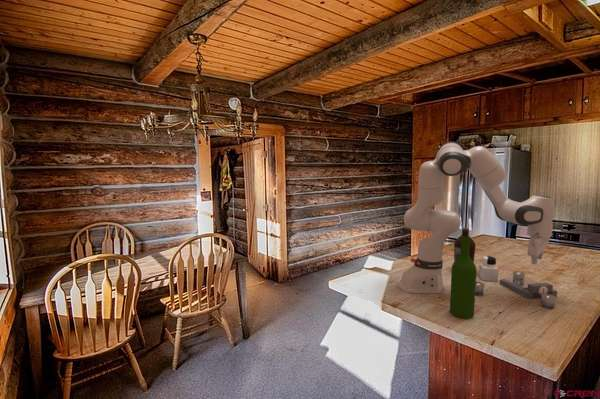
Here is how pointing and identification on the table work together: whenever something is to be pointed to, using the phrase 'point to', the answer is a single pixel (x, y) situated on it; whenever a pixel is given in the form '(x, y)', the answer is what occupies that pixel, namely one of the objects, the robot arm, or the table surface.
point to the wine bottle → (463, 283)
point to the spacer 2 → (518, 277)
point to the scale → (531, 289)
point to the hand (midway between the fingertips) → (536, 261)
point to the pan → (522, 286)
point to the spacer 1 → (479, 288)
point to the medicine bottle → (488, 269)
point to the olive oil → (458, 245)
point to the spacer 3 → (548, 301)
